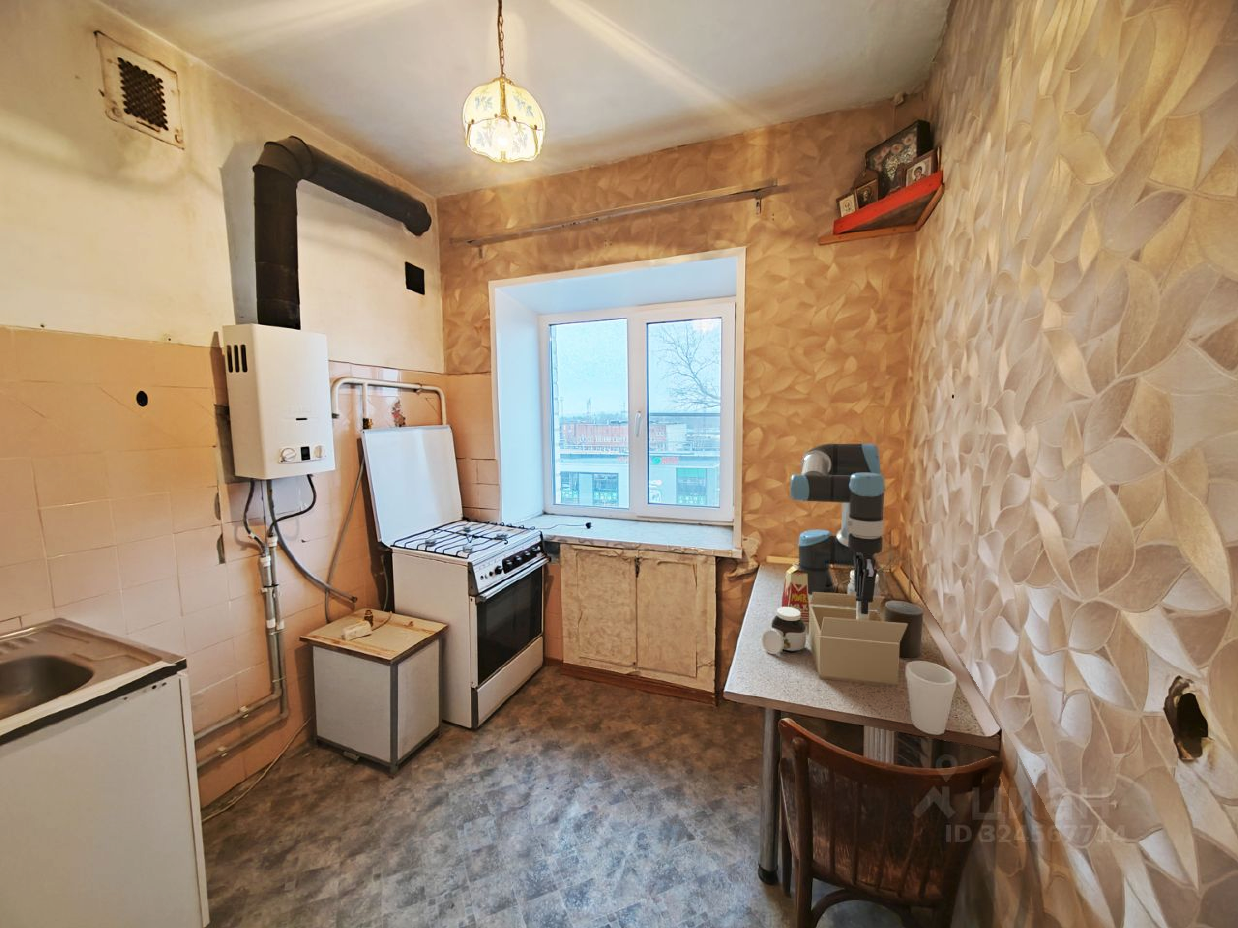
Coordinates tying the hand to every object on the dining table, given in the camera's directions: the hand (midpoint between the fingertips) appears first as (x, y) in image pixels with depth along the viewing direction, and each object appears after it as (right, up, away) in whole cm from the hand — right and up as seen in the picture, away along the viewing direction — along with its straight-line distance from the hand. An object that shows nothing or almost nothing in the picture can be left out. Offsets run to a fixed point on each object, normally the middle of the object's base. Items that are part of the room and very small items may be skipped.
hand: (862, 623), depth 115 cm
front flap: (0, -2, +1) cm, 2 cm away
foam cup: (+9, -19, -12) cm, 24 cm away
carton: (+4, -16, +14) cm, 22 cm away
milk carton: (0, -13, +42) cm, 44 cm away
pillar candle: (+23, -15, +20) cm, 34 cm away
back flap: (+5, 0, +19) cm, 19 cm away
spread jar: (-12, -16, +23) cm, 30 cm away
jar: (+20, -13, +36) cm, 43 cm away
